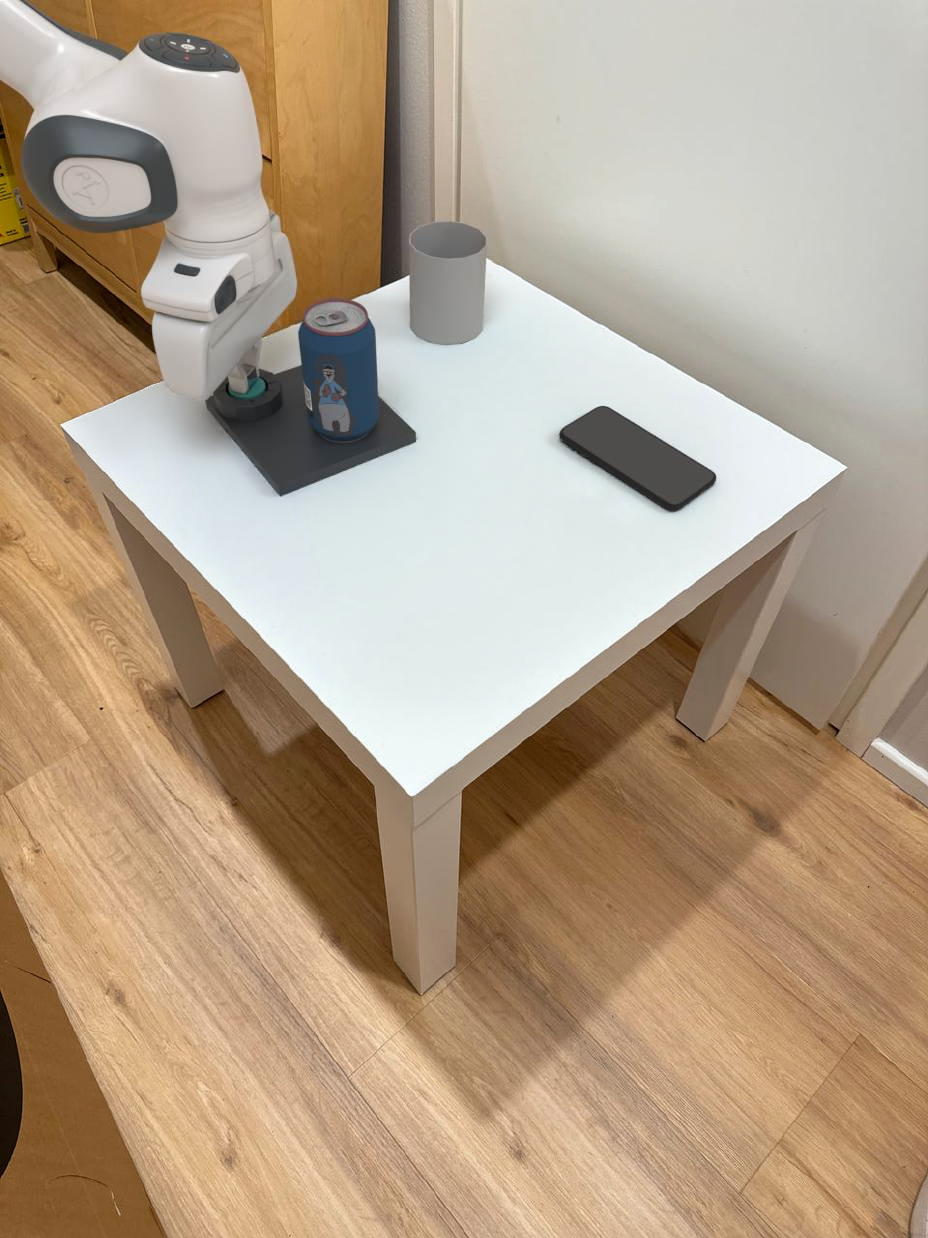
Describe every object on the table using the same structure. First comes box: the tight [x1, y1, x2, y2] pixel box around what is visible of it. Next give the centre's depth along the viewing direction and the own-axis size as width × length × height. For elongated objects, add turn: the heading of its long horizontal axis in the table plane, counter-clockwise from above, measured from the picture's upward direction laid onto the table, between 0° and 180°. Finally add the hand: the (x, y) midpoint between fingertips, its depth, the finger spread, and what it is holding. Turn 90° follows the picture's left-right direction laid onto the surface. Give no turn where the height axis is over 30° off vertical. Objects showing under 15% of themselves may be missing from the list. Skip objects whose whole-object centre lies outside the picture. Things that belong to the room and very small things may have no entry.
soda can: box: [297, 297, 379, 443], centre depth 85 cm, size 7×7×12 cm
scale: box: [204, 364, 417, 497], centre depth 90 cm, size 15×16×3 cm
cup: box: [408, 220, 488, 346], centre depth 100 cm, size 8×8×10 cm
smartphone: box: [558, 405, 717, 512], centre depth 89 cm, size 7×1×15 cm
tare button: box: [228, 377, 266, 400], centre depth 91 cm, size 4×4×2 cm
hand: (245, 384), depth 90 cm, fingers closed, pressing on tare button
